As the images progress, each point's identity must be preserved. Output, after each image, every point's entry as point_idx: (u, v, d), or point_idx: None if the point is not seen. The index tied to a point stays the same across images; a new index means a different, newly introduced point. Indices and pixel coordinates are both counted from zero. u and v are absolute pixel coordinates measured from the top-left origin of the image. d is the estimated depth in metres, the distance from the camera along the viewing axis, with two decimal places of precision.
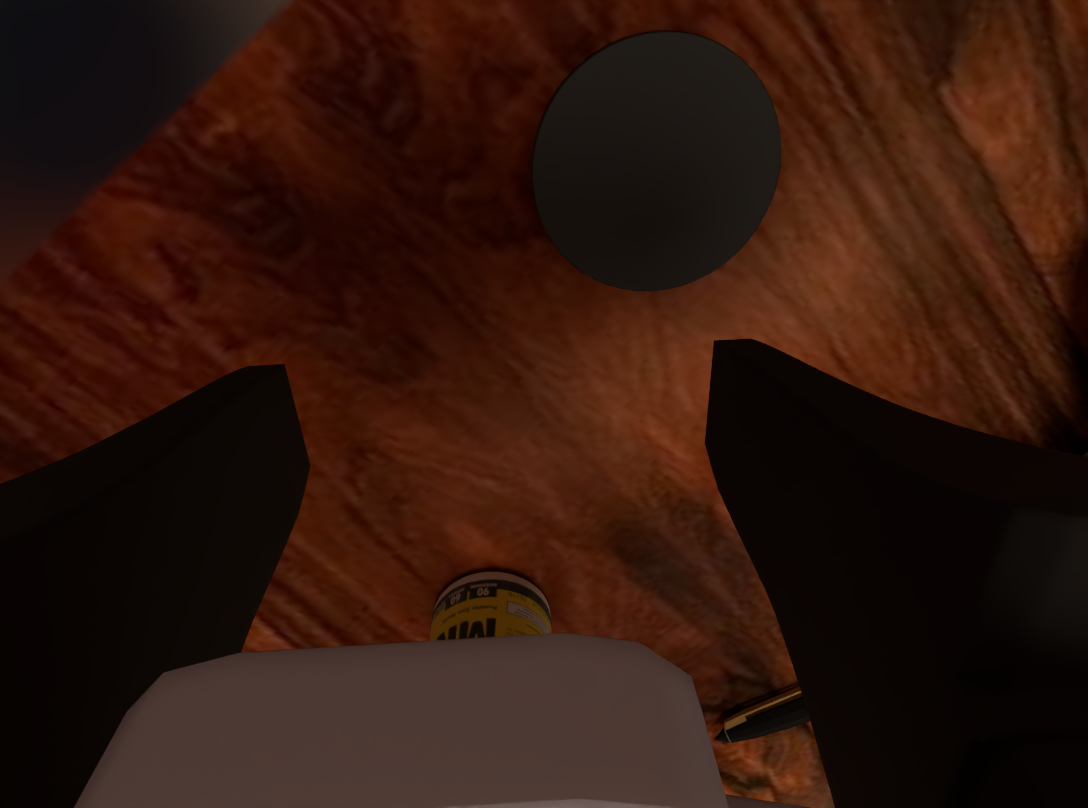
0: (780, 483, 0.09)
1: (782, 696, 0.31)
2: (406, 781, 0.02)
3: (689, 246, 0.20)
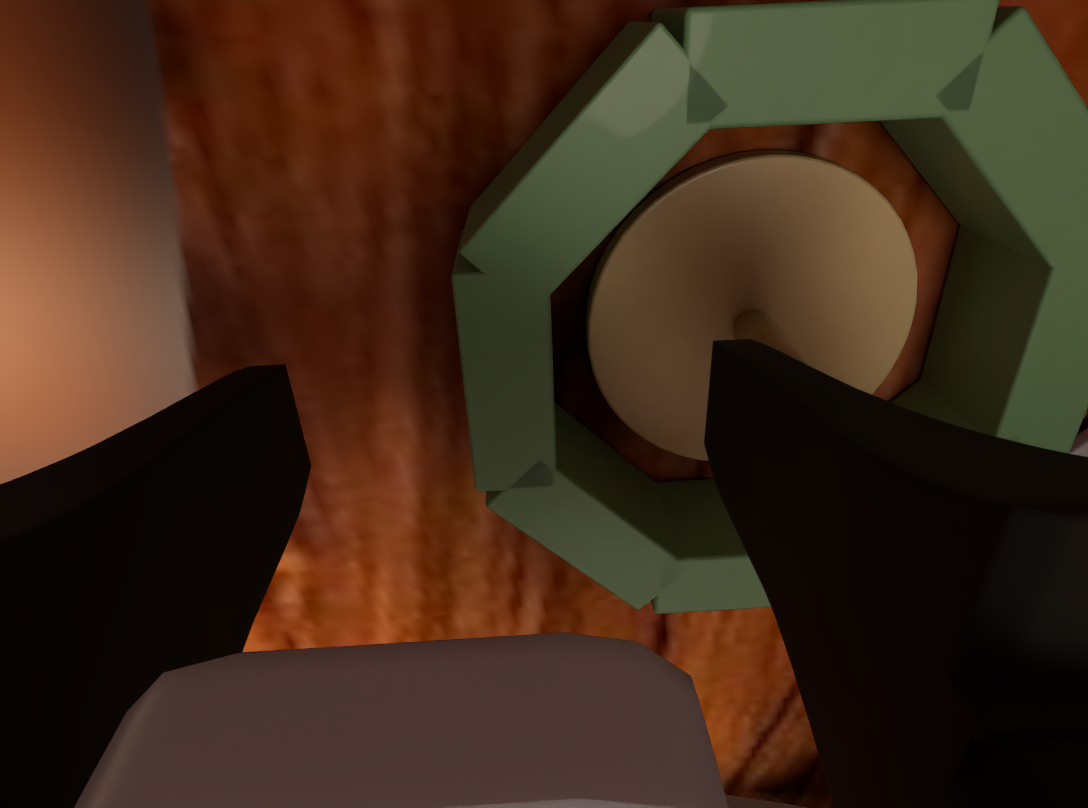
0: (778, 483, 0.09)
1: None
2: (406, 780, 0.02)
3: None
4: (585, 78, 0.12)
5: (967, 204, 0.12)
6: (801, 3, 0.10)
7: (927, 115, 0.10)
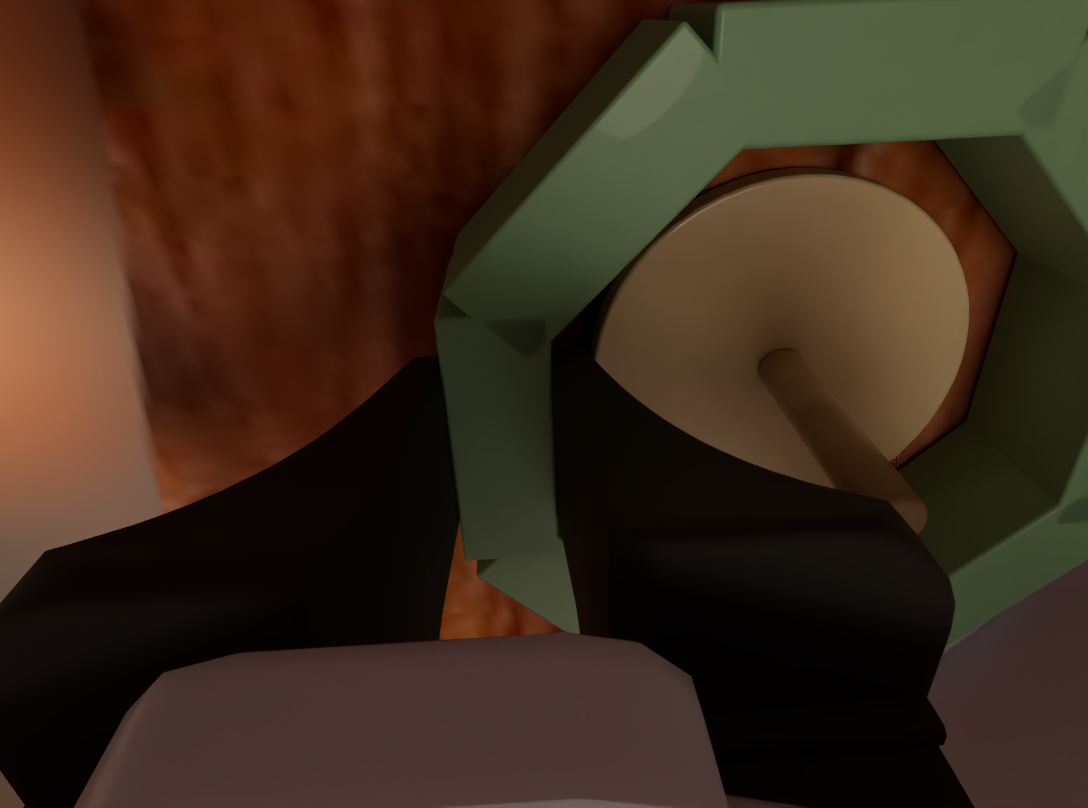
0: (571, 495, 0.09)
1: None
2: (407, 780, 0.02)
3: None
4: (591, 86, 0.10)
5: (1034, 232, 0.11)
6: None
7: (1004, 133, 0.08)
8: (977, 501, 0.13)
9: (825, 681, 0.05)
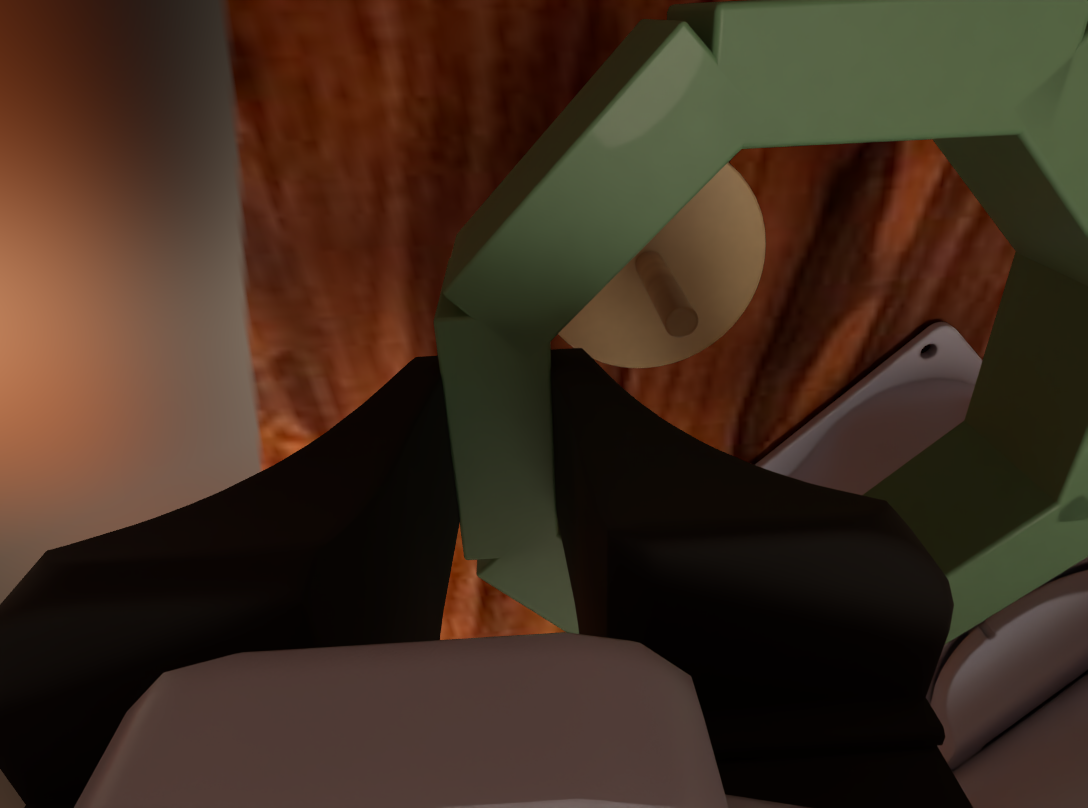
0: (570, 495, 0.09)
1: None
2: (406, 781, 0.02)
3: None
4: (590, 86, 0.10)
5: (1032, 231, 0.11)
6: None
7: (1002, 132, 0.09)
8: (975, 500, 0.13)
9: (824, 682, 0.05)
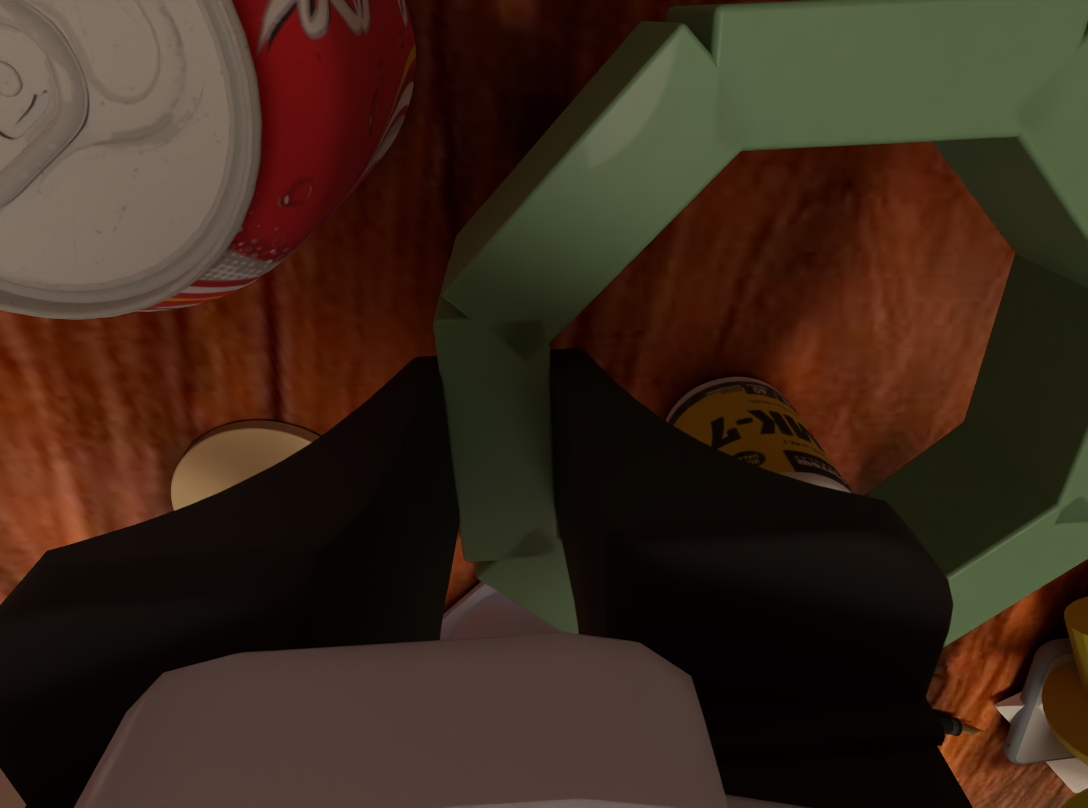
0: (570, 495, 0.09)
1: None
2: (406, 780, 0.02)
3: None
4: (590, 88, 0.10)
5: (1031, 233, 0.11)
6: (855, 0, 0.08)
7: (1001, 134, 0.09)
8: (975, 502, 0.13)
9: (824, 683, 0.05)
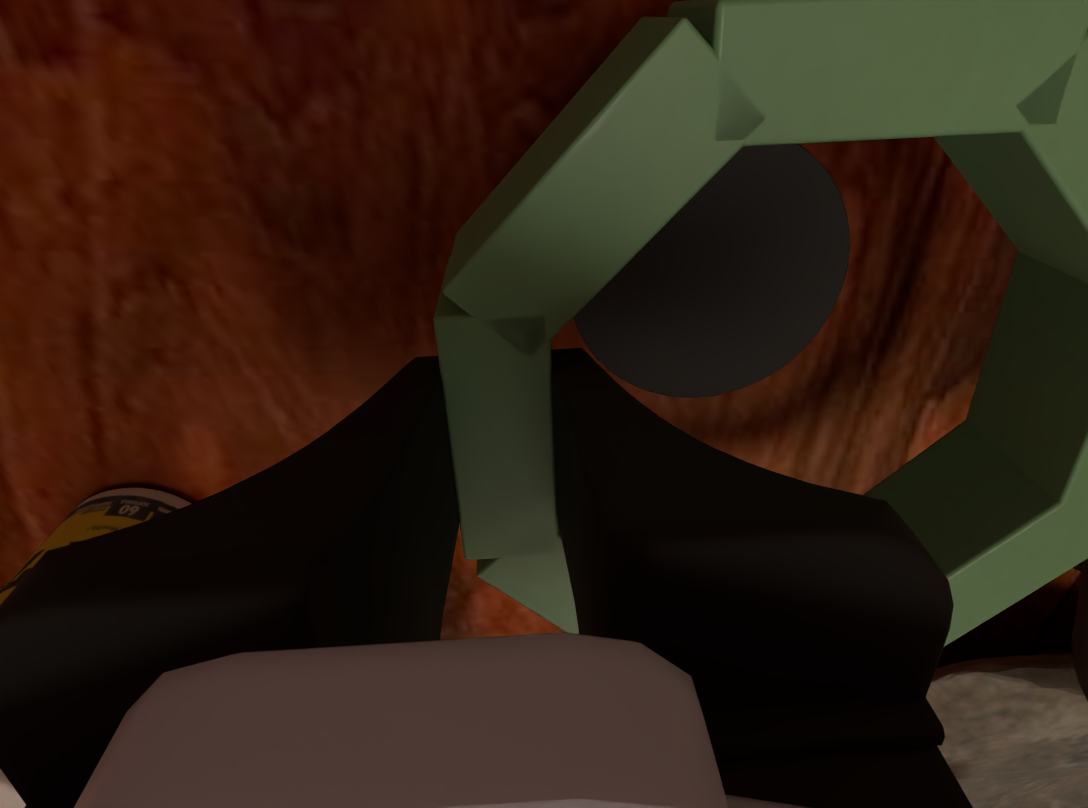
0: (570, 495, 0.09)
1: None
2: (406, 780, 0.02)
3: (672, 358, 0.18)
4: (591, 84, 0.10)
5: (1034, 229, 0.11)
6: None
7: (1005, 129, 0.08)
8: (977, 500, 0.13)
9: (824, 682, 0.05)
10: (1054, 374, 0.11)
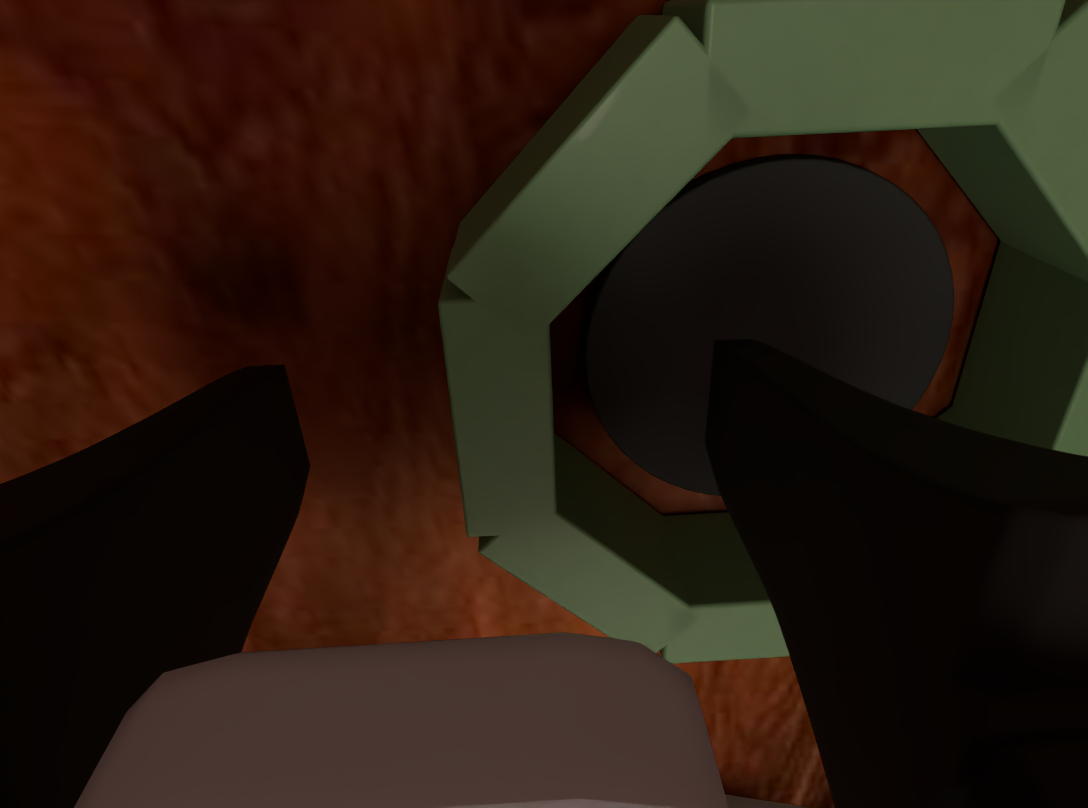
0: (780, 483, 0.09)
1: None
2: (406, 780, 0.02)
3: None
4: (588, 79, 0.10)
5: (1014, 219, 0.11)
6: None
7: (980, 122, 0.09)
8: None
9: None
10: (1034, 359, 0.12)
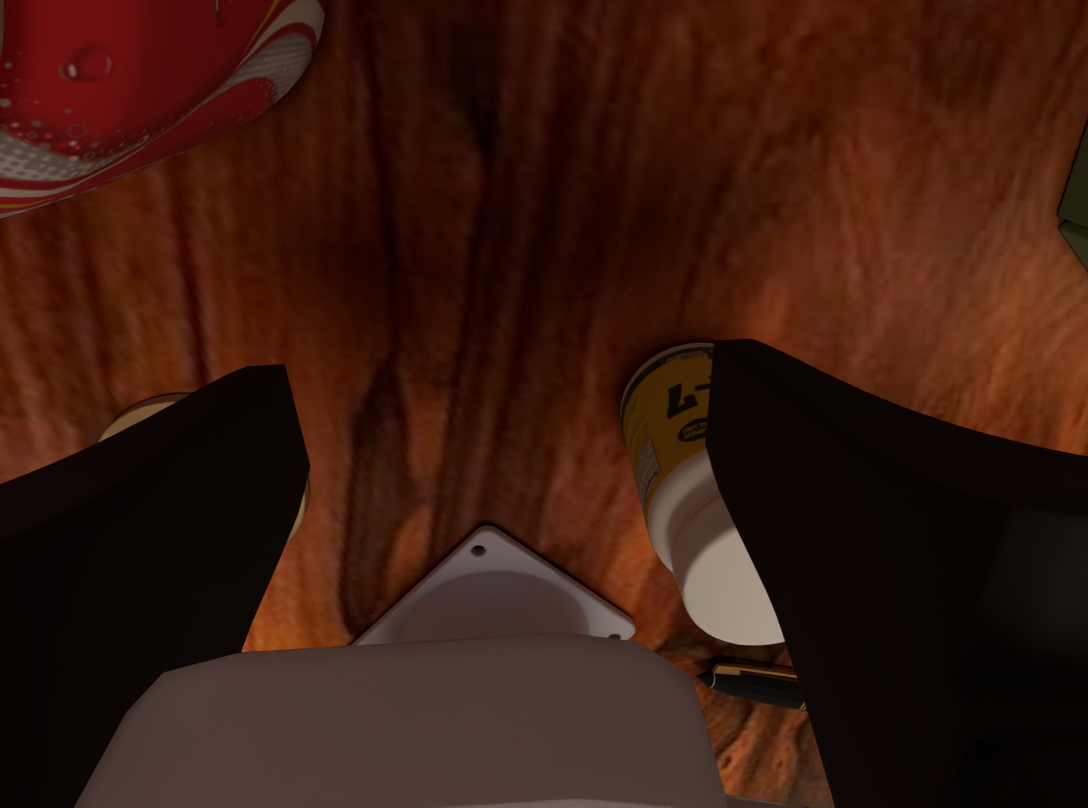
0: (780, 483, 0.09)
1: (780, 671, 0.29)
2: (406, 780, 0.02)
3: None
4: None
5: None
6: None
7: None
8: None
9: None
10: None
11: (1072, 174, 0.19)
